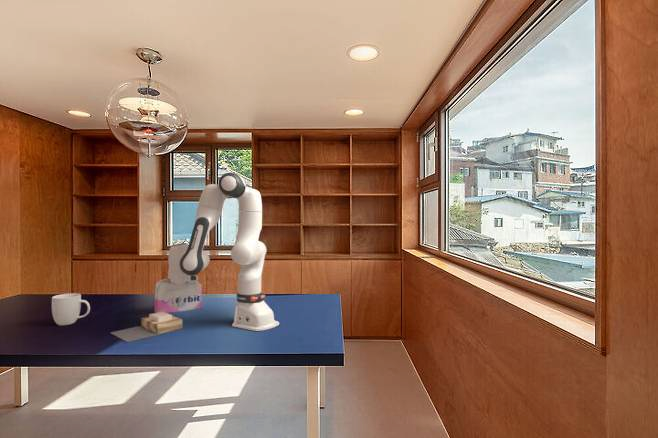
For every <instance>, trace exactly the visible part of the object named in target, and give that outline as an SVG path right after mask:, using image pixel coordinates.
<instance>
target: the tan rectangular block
mask: <svg viewBox="0 0 658 438" xmlns="http://www.w3.org/2000/svg"><path fill="white" fill-rule="evenodd" d="M140 322H141V323H140V324H141V325H140V326H141V327H143V328H145V329H147V330H150V331H152V332H154V333H156V334H158V335H160V334H164V333H169V332H172V331H176V330H180V329H183V319H182V318H181V317H178V316H177V317H176V316H174V315H172V319H171V320H167V321H162V322H156V321H154V320H151V319H149V316H146V317H145V316H144V317H141V320H140Z"/></svg>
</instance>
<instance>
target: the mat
mask: <svg viewBox="0 0 658 438" xmlns="http://www.w3.org/2000/svg"><path fill="white" fill-rule="evenodd" d="M110 334H111V335H112V336H114V337H116V338H118V339H120V340H122V341H124V342H125V343H126V344H127V343H132V342H135V341H140V340H143V339H147V338H152V337H157V336H158V335H159V334H156V333H154V332H152V331H150V330H147V329H145V328H143V327H141V325H139V326H134V327H129V328H124V329H120V330H116V331H112V332H110Z"/></svg>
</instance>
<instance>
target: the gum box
mask: <svg viewBox="0 0 658 438" xmlns="http://www.w3.org/2000/svg"><path fill="white" fill-rule="evenodd" d="M202 285H203V284H202V283H200V282H199V293H198V294H197V295H192V296H186V297H184V300H183V301H182V303H181V307H176V308H174V307H173V305H174V303H173V302H172V301H171V299H168V300H162V301H158V300H156V299H155V290H156V287H155V286H154V290H153V291H154V301H153V303H154V304H153V306H154V307H153V308H154V313H158V312H165V313H168V314H171V313H178V312H186V311H192V310H200V309H202V290H203V286H202ZM179 300H180V299H179V298H176V300H175V301H176V303H178V302H179Z"/></svg>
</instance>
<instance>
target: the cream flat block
mask: <svg viewBox="0 0 658 438" xmlns="http://www.w3.org/2000/svg"><path fill="white" fill-rule="evenodd" d="M148 315H149V316H148V317H149V319H151V320H154V321H156V322H162V321H167V320H171V319H172V316H173V315H172V314H171V313H165V312H158V313H155V312H154V313H149V314H148Z"/></svg>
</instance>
